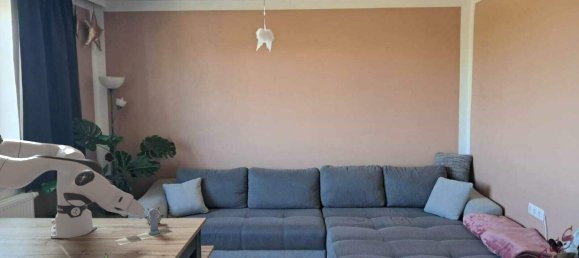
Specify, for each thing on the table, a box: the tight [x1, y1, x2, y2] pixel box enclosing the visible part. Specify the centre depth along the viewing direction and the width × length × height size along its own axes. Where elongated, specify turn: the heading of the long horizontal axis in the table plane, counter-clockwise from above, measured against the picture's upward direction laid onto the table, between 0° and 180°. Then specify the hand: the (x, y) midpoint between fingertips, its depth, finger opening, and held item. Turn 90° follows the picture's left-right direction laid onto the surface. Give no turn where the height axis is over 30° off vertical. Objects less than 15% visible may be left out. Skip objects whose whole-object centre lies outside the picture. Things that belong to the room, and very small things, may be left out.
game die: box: [143, 207, 164, 225], centre depth 194 cm, size 9×8×10 cm
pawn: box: [148, 207, 160, 235], centre depth 180 cm, size 4×4×11 cm
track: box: [114, 227, 173, 246], centre depth 178 cm, size 7×22×1 cm, turn 130°
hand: (133, 216), depth 170 cm, fingers open, 8 cm apart
